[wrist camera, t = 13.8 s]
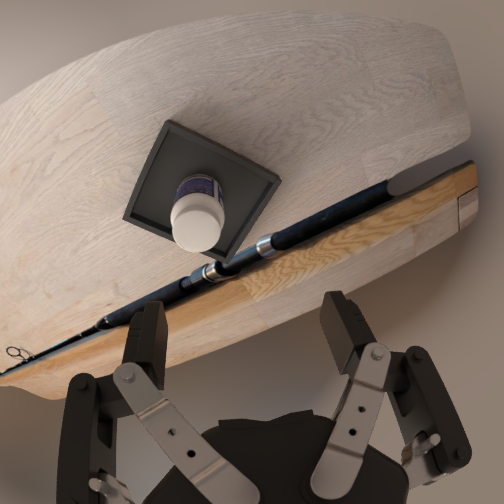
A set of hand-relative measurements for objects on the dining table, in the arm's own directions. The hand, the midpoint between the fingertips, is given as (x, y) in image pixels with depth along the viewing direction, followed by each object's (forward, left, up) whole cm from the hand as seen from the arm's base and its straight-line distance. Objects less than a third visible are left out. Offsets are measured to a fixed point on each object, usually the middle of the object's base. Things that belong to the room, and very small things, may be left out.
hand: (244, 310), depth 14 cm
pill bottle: (-1, -4, -24) cm, 25 cm away
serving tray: (-1, -4, -25) cm, 25 cm away
